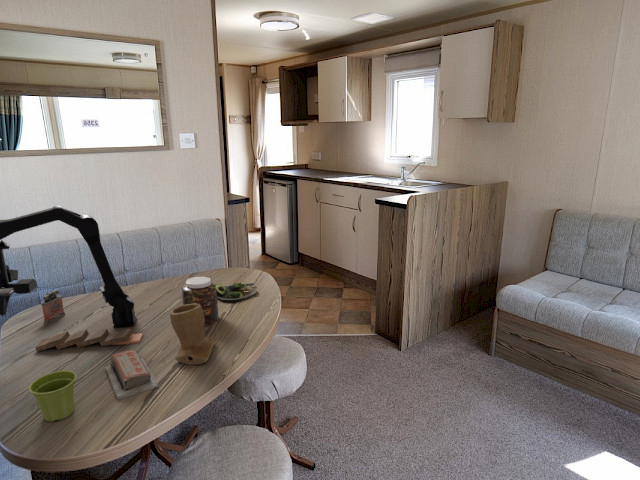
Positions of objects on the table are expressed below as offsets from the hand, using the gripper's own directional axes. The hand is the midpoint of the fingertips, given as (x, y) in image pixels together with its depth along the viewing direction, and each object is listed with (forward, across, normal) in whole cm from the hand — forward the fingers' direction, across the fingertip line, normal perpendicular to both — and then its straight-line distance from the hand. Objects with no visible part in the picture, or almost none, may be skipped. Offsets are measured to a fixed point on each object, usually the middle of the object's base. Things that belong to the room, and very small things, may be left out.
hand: (3, 314), depth 125 cm
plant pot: (+12, -26, +36) cm, 46 cm away
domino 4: (+11, -27, +1) cm, 29 cm away
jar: (+12, -56, -10) cm, 58 cm away
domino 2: (+11, -14, 0) cm, 18 cm away
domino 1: (+11, -8, 0) cm, 14 cm away
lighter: (+12, -4, -23) cm, 26 cm away
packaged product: (+13, -39, +23) cm, 47 cm away
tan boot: (+12, -55, +14) cm, 58 cm away
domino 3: (+11, -20, 0) cm, 23 cm away
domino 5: (+12, -30, 0) cm, 32 cm away
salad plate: (+13, -67, -33) cm, 76 cm away
